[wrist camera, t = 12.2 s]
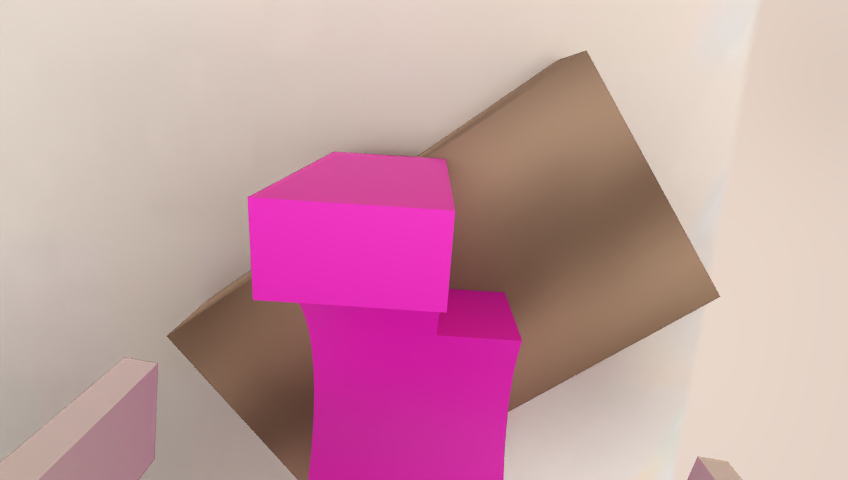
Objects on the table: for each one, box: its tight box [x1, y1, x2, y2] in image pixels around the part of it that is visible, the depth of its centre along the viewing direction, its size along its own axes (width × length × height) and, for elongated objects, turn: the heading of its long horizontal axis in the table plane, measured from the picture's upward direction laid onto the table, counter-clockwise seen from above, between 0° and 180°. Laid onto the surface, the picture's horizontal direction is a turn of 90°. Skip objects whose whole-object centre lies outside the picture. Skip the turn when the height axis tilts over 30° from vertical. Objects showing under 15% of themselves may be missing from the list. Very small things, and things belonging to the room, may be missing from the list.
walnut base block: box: [167, 51, 720, 480], centre depth 19 cm, size 10×18×4 cm, turn 124°
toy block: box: [248, 152, 522, 480], centre depth 14 cm, size 15×6×8 cm, turn 176°
